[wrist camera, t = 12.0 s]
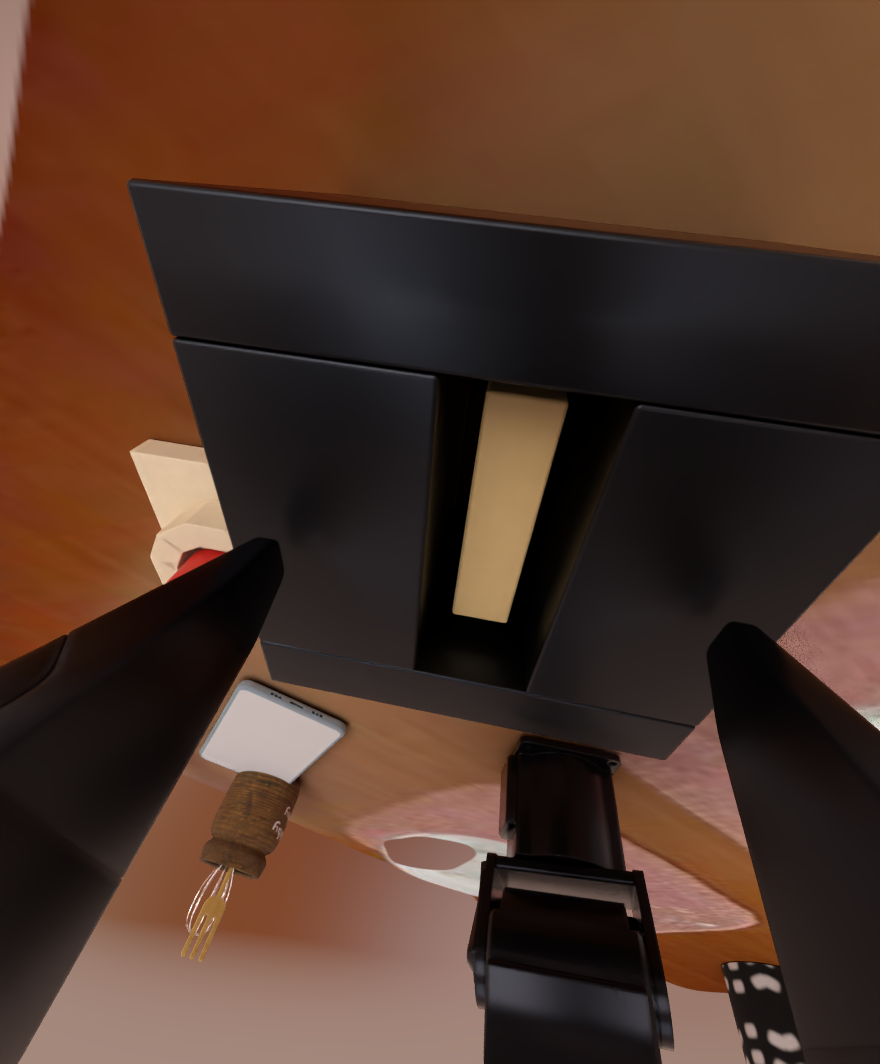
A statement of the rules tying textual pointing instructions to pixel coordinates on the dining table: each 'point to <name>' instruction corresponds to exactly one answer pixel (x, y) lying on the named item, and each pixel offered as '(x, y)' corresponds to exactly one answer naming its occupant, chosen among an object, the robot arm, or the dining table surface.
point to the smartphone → (269, 733)
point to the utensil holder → (243, 838)
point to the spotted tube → (763, 1013)
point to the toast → (506, 494)
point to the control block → (180, 503)
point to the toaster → (580, 458)
